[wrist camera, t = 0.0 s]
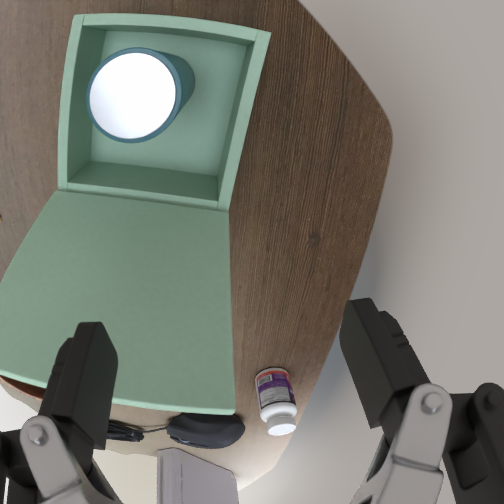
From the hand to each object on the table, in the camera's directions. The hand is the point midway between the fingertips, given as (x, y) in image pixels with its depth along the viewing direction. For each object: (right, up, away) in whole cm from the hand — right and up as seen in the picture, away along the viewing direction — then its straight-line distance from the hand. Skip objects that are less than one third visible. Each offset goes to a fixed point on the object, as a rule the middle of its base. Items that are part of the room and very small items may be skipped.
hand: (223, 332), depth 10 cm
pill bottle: (+4, -17, +38) cm, 41 cm away
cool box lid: (-7, +1, +7) cm, 10 cm away
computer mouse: (-16, -31, +44) cm, 57 cm away
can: (-6, +16, +13) cm, 22 cm away
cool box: (-7, +16, +15) cm, 22 cm away
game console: (-13, -52, +59) cm, 80 cm away
